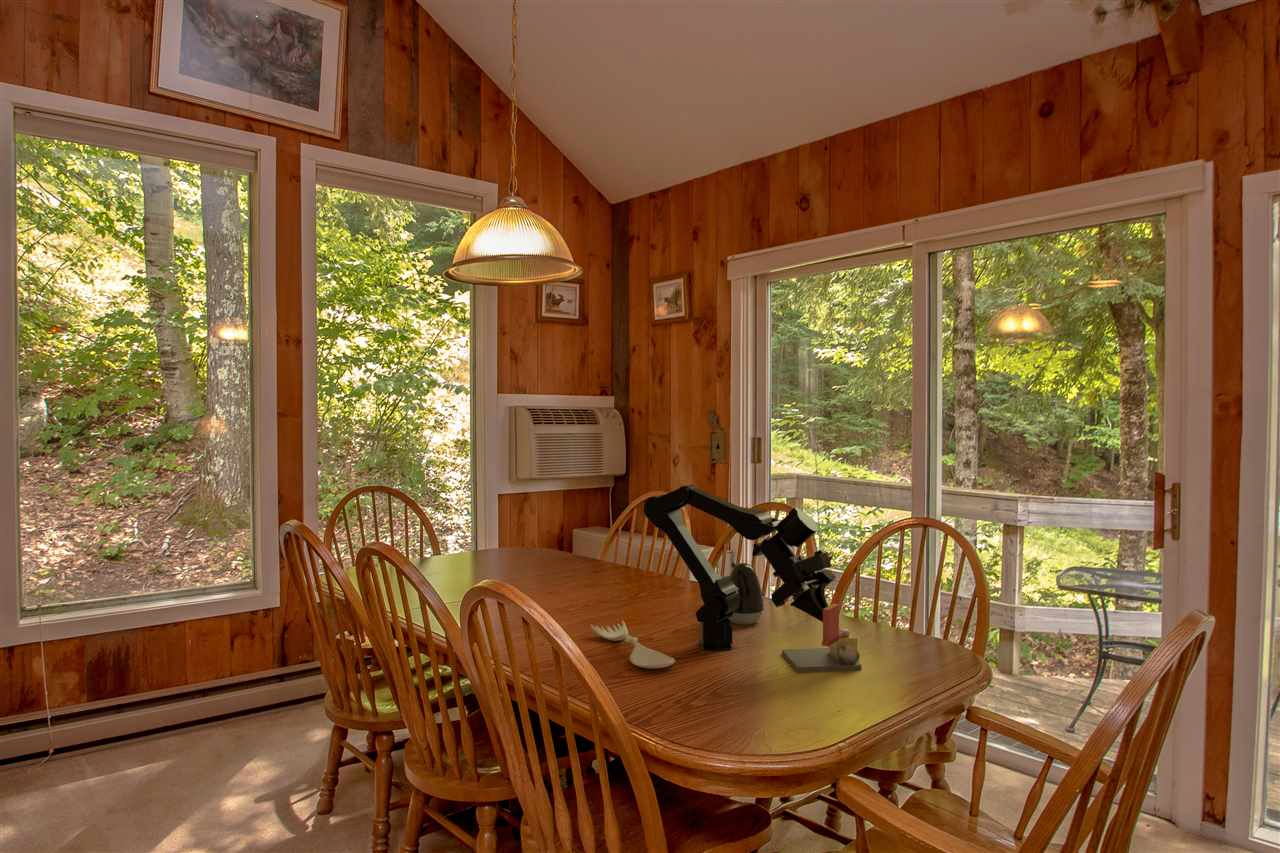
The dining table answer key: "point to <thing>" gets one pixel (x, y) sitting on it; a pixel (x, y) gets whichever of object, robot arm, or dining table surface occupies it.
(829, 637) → the valve lever
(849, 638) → the ball valve
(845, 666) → the mounting board
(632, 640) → the white double-ended utensil part
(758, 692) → the dining table surface
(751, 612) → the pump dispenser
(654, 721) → the dining table surface
